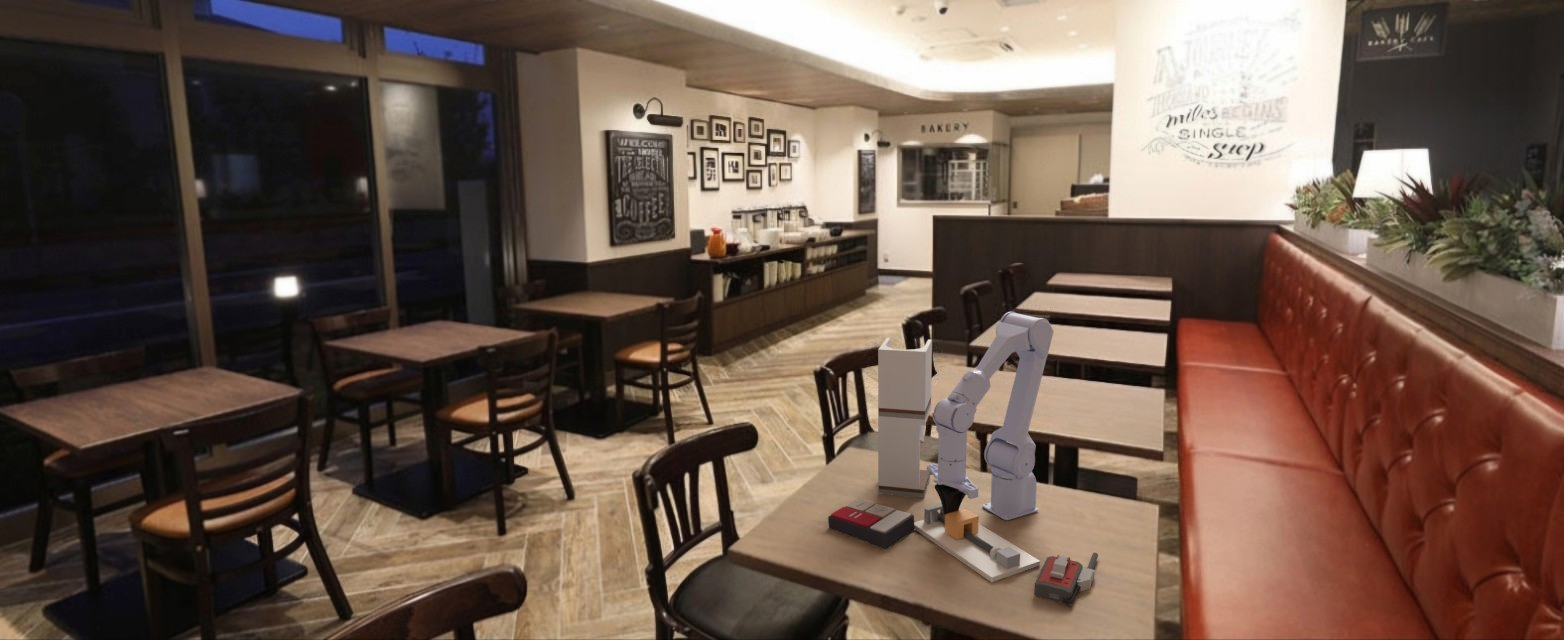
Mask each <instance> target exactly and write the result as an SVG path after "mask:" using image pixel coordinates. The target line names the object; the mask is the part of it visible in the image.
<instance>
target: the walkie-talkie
mask: <svg viewBox="0 0 1564 640" xmlns="http://www.w3.org/2000/svg"><path fill="white" fill-rule="evenodd" d="M1098 556H1099V554H1098V553H1097V552H1092V554H1091V557H1090V559H1089V563H1088V565H1087V567H1083V564H1082V563H1080V562H1078V561H1075V560H1072V559H1071V557H1069V556H1065V555H1061V554H1057V556H1054V555H1053V556H1047V557H1046V560H1045V561H1044V563H1043V565H1042V568H1041V570H1040V571H1039V574H1038V575H1037V578H1036V581H1035V582H1034V588H1033V589H1034V593H1033V594H1034V595H1035V596H1036V597H1037V598H1040V597H1041V599H1045V600H1047V601H1052V602H1056V603H1060V602H1061V604H1065V605H1067V606H1069V605H1072V604H1073V603H1074V601H1075V598H1076V595H1077V594H1078V592H1083V591H1086V590H1090V588H1091V585H1092V583H1093V581H1095V572H1096V571H1095V569H1094V568H1095V565H1096V562H1097V560H1098Z"/></svg>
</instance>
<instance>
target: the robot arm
mask: <svg viewBox="0 0 1564 640" xmlns="http://www.w3.org/2000/svg"><path fill="white" fill-rule="evenodd" d="M1054 332H1055V331H1054V329H1053V327H1052V325H1051V323H1050V322H1049V320H1048V319H1047V318H1044V317H1036V316H1033V315H1026V314H1021V313H1017V312H1015V311H1007V312H1006V313H1004V314H1003V315H1002V316H1001V318H1000V320H999V322H998V323H997V324H996V326H995V337H994V339H993V341H992V342H991V344H990V345H989V346H988V349H987V350H986V352H985V353H984V355H983V356H982V358H981V360H980V362H979V364H978V365H977V367H976V368H974V369H973V370H971V369H970V370H968V371H966V372H965V373H964V374H963V376H962V377H961V379H960V380H959V382H958V383H957V384H956V386H955V387H954V389H953V390H952V391H951V392H950V394H949V395H948V397H946V398H944V399H941V400H939V401H938V402H937V403H936V404H935V407H934V408H933V409H934V410H933V412H932V413H931V417H932V420H933V422H934V424H935V427H936V431H937V433H938V436H937V437H938V438H937V439H938V440H937V464H935V463H931V464H927V465H926V470H927V474H928V475H930V476H933V477H934V479H933V482H934V483H935V484H934V489H935V491H936V493H937V495H938V498H939V500H940V502H941V503H942V506H943V511H944V515H945V514H948V513H952V512H955V511H959V510H960V508H961V504H962V502H963V500H964V499H965V496H967V498H968V499H970V500H972V499H977V498H979V488H978V487H977V486H976V485H975V484H974V483H973V482H972V481H971V479H969V477H968V476H967V447H968V445H967V443H968V442H967V441H968V437H967V436H968V430H969V428H970V427H971V426H972V425H973V423H974V419H975V415H976V413H977V410H978V409H977V407H978V405H980V403H981V401H982V400H983V399H984V397H985V396H986V394H987V393H988V392H989V390H990V388H991V381H990V379H991V378H992V377H993V376H994V375H995V373H996V372H997V371H998V370H999V369H1000V367H1001V366H1002V365H1003V364H1004V363H1005V362H1006V360H1007V359H1009V358H1010V356H1011V354H1013V353H1016V354H1017V356H1018V358H1019V360H1018V363H1017V369H1016V372H1015V377H1014V381H1013V385H1012V388H1011V392H1010V396H1009V400H1008V405H1007V408H1006V413H1005V416H1004V421H1003V425H1002V426H1001V427H999V428H998V429H996V430H994V431H993V432H991V436H990V439H989V441H988V443H987V445H986V446H985V449H984V453H983V455H984V460H985V463H987V464H988V465H989V471H991V486H990V488H991V489H990V490H991V491H990V502H987V503H983V504H982V505H981V506H982V508H983V509H985V510H987V511H988V512H991V513H992V514H994V515H995V516H997V517H999V518H1001V519H1002V520H1004V521H1010V520H1014V519H1018V518H1020V517H1024V516H1027V515H1030V514H1033V513H1036V512H1039V508H1038V507H1036V506H1037V505H1036V504H1037V503H1036V502H1037V486H1038V485H1037V484H1038V483H1037V479H1036V476H1035V475H1034V473H1033V469H1034V467H1035V465H1036V464H1035V463H1036V456H1035V453H1036V447H1037V446H1036V444H1035V442H1034V440H1033V439H1032V438H1031V436H1030V434H1029V430H1030V425H1031V421H1032V418H1033V413H1034V410H1035V406H1036V401H1037V398H1038V393H1039V391H1040V386H1041V382H1042V377H1043V373H1044V369H1045V365H1046V362H1047V359H1048V356H1049V352H1050V347H1051V344H1052V339H1053V336H1054ZM941 503H940V504H941Z"/></svg>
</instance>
